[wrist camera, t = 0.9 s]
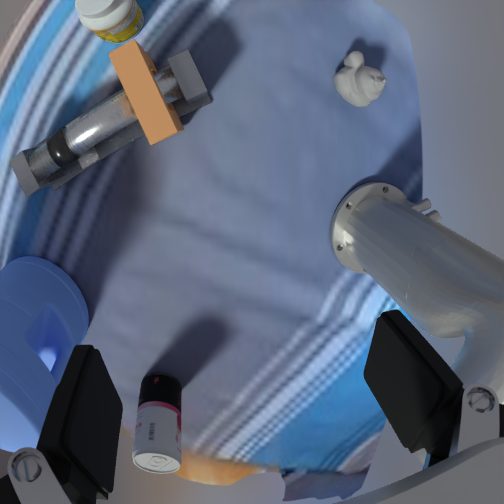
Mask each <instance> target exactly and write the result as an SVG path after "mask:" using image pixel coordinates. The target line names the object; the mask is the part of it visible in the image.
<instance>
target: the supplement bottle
mask: <svg viewBox="0 0 504 504" xmlns="http://www.w3.org/2000/svg"><path fill="white" fill-rule="evenodd" d="M75 6H76V9H77V11H78V12H79V18H80V21H81V22H82V24H83V25H84V26H85V27H87V28H88V29H89V30H91V31H92V32H93V33H95V34H96V35H97V36H99V37H100V38H101V39H103V40H104V41H106V42H108V43H112V44H121V43H125V42H127V41H129V40H131V39H132V38H134V37H135V36H136V35H137V34H138V33H139V31H140V30H141V28H142V26H143V23H144V16H143V12H142V10H141V9H140V7H139V5H138V4H137V2H136V0H75Z"/></svg>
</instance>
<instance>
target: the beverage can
mask: <svg viewBox="0 0 504 504" xmlns="http://www.w3.org/2000/svg"><path fill="white" fill-rule="evenodd" d="M181 392H182V388H181V385H180V383H179V382H178V381H177V380H176V379H175V378H173V377H171V376H169V375H166V374H160V373H157V374H151V375H148V376H146V377H145V378H144V379H143V380H142V383H141V389H140V396H139V403H138V410H137V418H136V426H135V434H134V443H133V452H132V456H133V462H134V464H135V465H137V467H139V468H141V469H143V470H145V471H148V472H153V473H161V474H162V473H163V474H164V473H172V472H175V471H177V470H178V469H179V468H180V464H181Z"/></svg>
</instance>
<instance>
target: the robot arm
mask: <svg viewBox="0 0 504 504" xmlns="http://www.w3.org/2000/svg"><path fill="white" fill-rule="evenodd" d="M347 203H348V205H347ZM346 205H347V206H346ZM429 208H431V202H430V200H429V199H427V198H426V199H424V200H422V201H420V202H419V203H417V204H414V203H412V202H410V201H409V200H408V199H407V197H406V196H405V195H404V193H403V192H402V191H401V190H399V189H398V188H396V187H395V186H393V185H390V184H388V183H384V182H370V183H365V184H363V185H361V186H358V187H357V188H355V189H354V190H352V191H351V192H349V193H348V194H347V195H346V196H345V197H344V198H343V200H342V201H341V203H340V204H339V205H338V207H337V209H336V211H335V213H334V215H333V219H332V222H331V228H330V242H331V245H332V249H333V251H334V253H335V255H336V257H337V258H338V259H339V261H340V262H341V263H342V264H343V265H344V266H345V267H346V268H348V269H350V270H352V271H354V272H357V273H364V274H367V273H368V274H369V275H370V276H371V277H372V278H373V279H374V280H375V281H376V282H377V283H378V284H379V285H380V286H381V287H382V288H383V289H384V290H385V291H386V292H387V293H388V294H389V296H390V297H391V298H392V299H393V300H394V301H395V302H396V303H397V304H398V305H399V306H400V307H401V308H402V309H403V310H404V312H405V313H406V314H407V315H408V316H409V317H410V318H411V319H412V320H413V321H414V322H415V323H416V324H417V325H418V326H419V327H420V328H421V329H422V330H423V331H425V332H426V333H428V334H430V335H432V336H435V337H440V338H457V337H464V336H465V342H464V345H463V347H462V349H461V351H460V352H459V354H458V356H457V357H456V359H455V362H454V363H453V364H452V366H451V367H449V366H448V364H447V363H446V362H445V361H444V360H443V359H442V357H441V356H440V355H439V354H438V353H437V352H436V351H435V350H434V348H433V347H432V346H431V345H430V344H429V343H428V341H427V340H425V338H424V337H423V336H422V335H421V334H420V332H419V331H418V330H417V329H416V328H415V327H414V326H413V325H412V324H411V322H410V321H409V320H408V319H407V318H406V317H405V316H404V315H403V314H402V313H401V312H400V311H399V310H397V309H396V310H391V311H386V312H383V313H382V314H381V316H380V317H378V319H377V321H376V325H375V330H374V334H373V338H372V342H371V346H370V350H369V354H368V358H367V361H366V365H365V369H364V379H365V381H366V383H367V384H368V386H369V388H370V389H371V391H372V393H373V395H374V396H375V398H376V400H377V401H378V403H379V405H380V407H381V408H382V410H383V412H384V413H385V415H386V417H387V419H388V420H389V422H390V424H391V425H392V427H393V429H394V431H395V433H396V434H397V436H398V438H399V440H400V441H401V443H402V445H403V446H404V447H405V448H408V449H409V451H410V452H411V453H414V452H415V454H416V455H417V457H418V459H419V460H420V461H421V462H422V464H423V465H424V466H423V470H422V471H420V472H418V473H415V474H413V475H411V476H409V477H406V478H404V479H402V480H399V481H397V482H395V483H392V484H390V485H387V486H385V487H382V488H379V489H377V490H374V491H371V492H368V493H365V494H363V495H360V496H357V497H354V498H350V499H347V500H344V501H341V502H337V503H334V504H504V260H503V259H501V258H499V257H498V256H496V255H494V254H492V253H490V252H489V251H487V250H485V249H483V248H482V247H480V246H478V245H477V244H475V243H473V242H472V241H470V240H468V239H467V238H465V237H463V236H461V235H459V234H457V233H456V232H454V231H453V230H451V229H449V228H447V227H445V226H444V225H442V224H440V222H441V216H440V214H439V212H438V211H436V210H433V211H431V212H429V213H428V214H426V215H424V214H422V213H420V212H422V211H425V210H427V209H429ZM338 245H339V246H338ZM337 246H338V247H337ZM122 412H123V406H122V402H121V400H120V397H119V395H118V393H117V391H116V389H115V387H114V384H113V382H112V380H111V378H110V375H109V373H108V371H107V369H106V366H105V364H104V361H103V359H102V356H101V354H100V352H99V350H98V349H94V347H93V346H92V345H75V347H74V348H73V351H72V353H71V356H70V358H69V361H68V363H67V366H66V368H65V371H64V373H63V376H62V379H61V381H60V383H59V384H58V385H57V387H56V389H55V392H54V395H53V397H52V400H51V403H50V406H49V409H48V412H47V415H46V418H45V421H44V424H43V427H42V430H41V433H40V436H39V440H38V443H37V447H36V449H35V448H31V447H24V448H21V449H18V450H17V451H16V452H14V453H13V455H12V456H11V457H10V459H9V462H8V474H7V475H6V476H4V477H3V478H1V479H0V504H96V499H104V500H108V493H111V492H112V491H113V486H114V475H115V466H116V457H117V448H118V440H119V433H120V426H121V419H122Z"/></svg>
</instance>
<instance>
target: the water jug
mask: <svg viewBox="0 0 504 504" xmlns="http://www.w3.org/2000/svg"><path fill="white" fill-rule="evenodd" d="M88 324H89V315H88V309H87V305H86V302H85V299H84V297H83V295H82V293H81V291H80V289H79V288H78V286H77V285H76V283H75V282H74V281H73V280H72V279H71V277H70V276H69V275H68V274H67V273H66V272H64V271H63V270H62V269H61V268H59V267H58V266H57V265H55V264H53V263H52V262H50V261H48V260H45V259H42V258H39V257H34V256H24V257H19V258H16V259H14V260H12V261H11V262H10V263H8V264H7V265H6V266H5V267H4V268H3V269H2V270H1V271H0V449H3V450H6V451H10V452H16V451H17V450H18V449H21V448H24V447H31V448H35V449H36V447H37V443H38V440H39V436H40V433H41V430H42V427H43V424H44V421H45V418H46V415H47V412H48V409H49V406H50V403H51V400H52V397H53V395H54V392H55V389H56V387H57V385H58V384H59V383H60V381H61V379H62V376H63V373H64V371H65V368H66V366H67V363H68V361H69V358H70V356H71V353H72V351H73V348H74V347H75V345H81V344H82V342H83V340H84V337H85V335H86V333H87V330H88Z"/></svg>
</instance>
